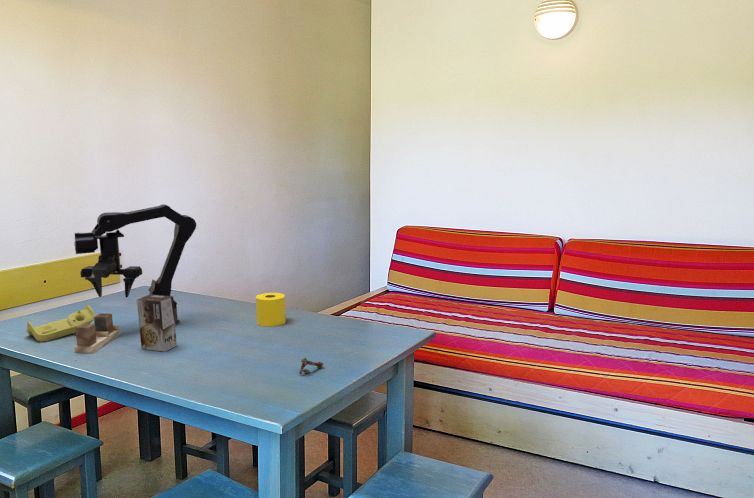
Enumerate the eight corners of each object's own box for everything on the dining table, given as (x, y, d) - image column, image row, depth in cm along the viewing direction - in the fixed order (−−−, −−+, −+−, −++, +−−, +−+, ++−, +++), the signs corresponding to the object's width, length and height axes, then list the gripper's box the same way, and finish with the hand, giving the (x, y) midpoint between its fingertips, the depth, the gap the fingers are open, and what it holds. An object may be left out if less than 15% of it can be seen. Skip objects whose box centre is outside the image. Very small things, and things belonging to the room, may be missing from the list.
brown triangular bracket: (295, 372, 173) (299, 356, 173) (315, 376, 179) (319, 360, 179) (299, 374, 171) (304, 358, 172) (319, 377, 177) (324, 362, 178)
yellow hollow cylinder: (255, 319, 225) (254, 293, 223) (283, 317, 228) (282, 291, 226) (258, 327, 216) (257, 301, 214) (287, 325, 218) (286, 298, 217)
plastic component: (39, 337, 200) (26, 318, 205) (39, 354, 204) (26, 335, 209) (100, 318, 214) (86, 302, 219) (99, 335, 218) (85, 318, 223)
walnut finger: (113, 331, 206) (111, 313, 205) (106, 335, 202) (105, 317, 200) (101, 331, 206) (100, 313, 205) (94, 335, 202) (92, 317, 201)
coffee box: (177, 345, 198) (174, 295, 195) (164, 352, 192) (160, 301, 189) (153, 342, 201) (150, 293, 198) (140, 349, 195) (136, 298, 192)
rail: (119, 335, 208) (117, 311, 207) (93, 352, 192) (91, 327, 190) (102, 334, 209) (100, 311, 207) (74, 352, 192) (72, 327, 191)
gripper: (69, 255, 200) (73, 303, 203) (125, 256, 199) (129, 303, 202) (87, 249, 211) (91, 294, 214) (141, 249, 210) (144, 295, 213)
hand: (113, 297), depth 210 cm, fingers open, 9 cm apart
